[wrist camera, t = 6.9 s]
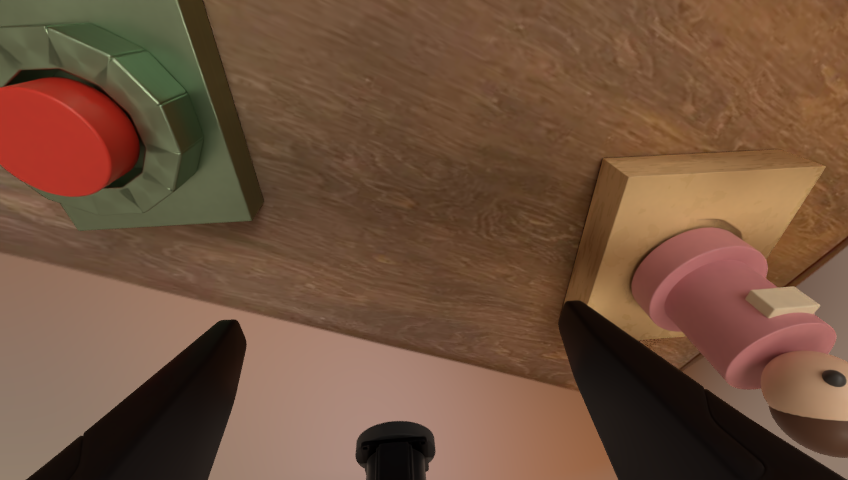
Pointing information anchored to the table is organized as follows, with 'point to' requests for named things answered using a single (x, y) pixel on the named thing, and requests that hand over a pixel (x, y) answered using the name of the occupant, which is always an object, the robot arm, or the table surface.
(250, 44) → the table surface
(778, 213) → the doll stand
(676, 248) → the doll
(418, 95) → the table surface
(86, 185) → the button
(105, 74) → the green button box
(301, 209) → the table surface
